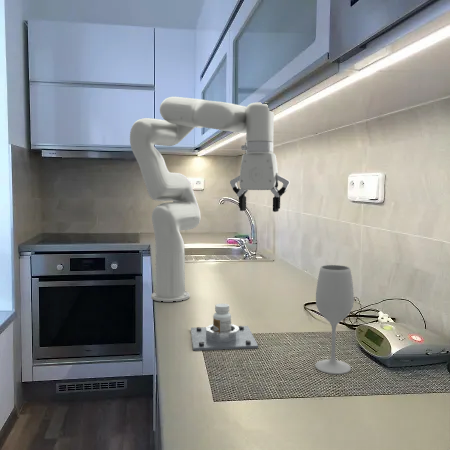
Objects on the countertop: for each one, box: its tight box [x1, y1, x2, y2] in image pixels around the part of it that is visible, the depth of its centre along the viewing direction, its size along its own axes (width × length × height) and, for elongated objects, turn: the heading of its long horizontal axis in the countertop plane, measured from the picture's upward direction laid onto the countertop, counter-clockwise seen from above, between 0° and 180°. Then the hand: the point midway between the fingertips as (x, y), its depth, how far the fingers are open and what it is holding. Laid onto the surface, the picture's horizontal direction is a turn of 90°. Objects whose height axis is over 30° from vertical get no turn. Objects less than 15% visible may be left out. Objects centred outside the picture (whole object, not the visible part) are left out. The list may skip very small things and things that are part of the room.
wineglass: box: [314, 264, 355, 375], centre depth 95 cm, size 8×8×21 cm
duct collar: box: [205, 323, 239, 342], centre depth 114 cm, size 8×8×2 cm
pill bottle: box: [212, 303, 232, 332], centre depth 114 cm, size 4×4×8 cm
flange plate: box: [190, 325, 259, 351], centre depth 114 cm, size 15×15×1 cm
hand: (259, 211), depth 129 cm, fingers open, 9 cm apart
